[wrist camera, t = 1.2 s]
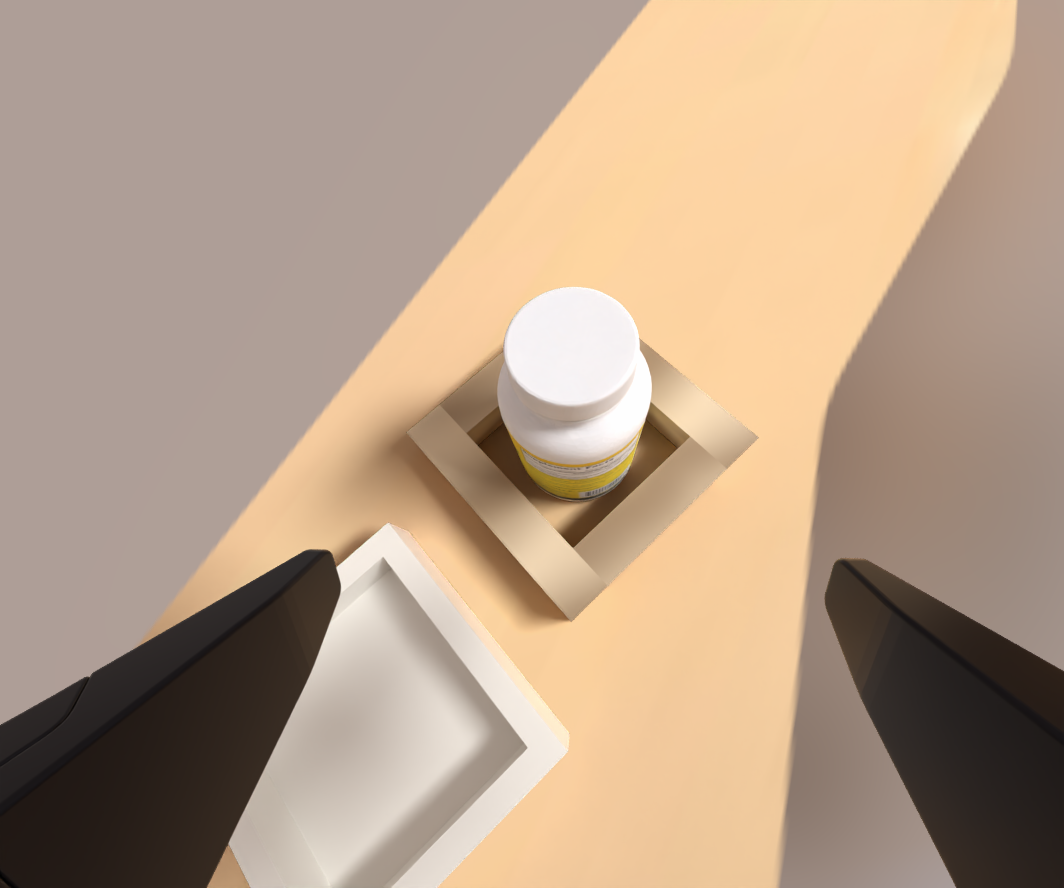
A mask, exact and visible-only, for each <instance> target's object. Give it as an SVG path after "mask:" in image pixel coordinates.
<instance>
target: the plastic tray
mask: <svg viewBox="0 0 1064 888" xmlns="http://www.w3.org/2000/svg"><path fill="white" fill-rule="evenodd" d="M336 568H337V572H338V575H339V579H340V582H341V593H340V597H339V600H338V602H337V605H336V608H335V611H334V613H333V616H332V619H331V621H330V624H329V627H328V630H327V632H326V635H325V638H324V640H323V643H322V646H321V649H320V651H319V654H318V657H317V659H316V662H315V664H314V667H313V669H312V672H311V674H310V676H309V678H308V681H307V683H306V685H305V687H304V689H303V691H302V693H301V695H300V697H299V699H298V701H297V703H296V705H295V708H294V710H293V712H292V714H291V716H290V718H289V720H288V722H287V724H286V726H285V728H284V730H283V732H282V734H281V736H280V738H279V740H278V742H277V744H276V747H275V749H274V751H273V753H272V755H271V757H270V759H269V761H268V763H267V765H266V767H265V769H264V771H263V773H262V775H261V777H260V779H259V781H258V784H257V786H256V788H255V790H254V792H253V794H252V796H251V798H250V800H249V802H248V804H247V806H246V808H245V810H244V812H243V814H242V816H241V818H240V821H239V823H238V825H237V827H236V829H235V831H234V833H233V835H232V837H231V839H230V841H229V843H228V844H229V846H230V848H231V850H232V852H233V854H234V856H235V858H236V860H237V862H238V864H239V866H240V868H241V870H242V872H243V874H244V876H245V878H246V880H247V882H248V884H249V886H250V888H437V887H438V886H439V885H440V884H441V883H442V882H443V881H444V880H445V879H446V878H447V877H448V876H449V875H450V874H451V872H452V871H453V870H454V869H455V868H456V867H457V866H458V865H459V864H460V863H461V862H462V861H463V860H464V859H465V858H466V857H467V856H468V855H469V854H470V853H471V852H472V851H473V850H474V849H475V848H476V846H477V845H478V844H479V843H480V842H481V841H482V840H483V839H484V838H485V837H486V836H487V835H488V834H489V833H490V832H491V831H492V830H493V829H494V828H495V827H496V826H497V825H498V824H499V823H500V822H501V821H502V819H503V818H504V817H505V816H506V815H507V814H508V813H509V812H510V811H511V810H512V809H513V808H514V807H515V806H516V805H517V804H518V803H519V802H520V801H521V800H522V799H523V798H524V797H525V796H526V795H527V793H528V792H529V791H530V790H531V789H532V788H533V787H534V786H535V785H536V784H537V783H538V782H539V781H540V780H541V779H542V778H543V777H544V776H545V775H546V774H547V773H548V772H549V771H550V770H551V769H552V768H553V766H554V765H555V764H556V763H557V762H558V761H559V760H560V759H561V758H562V757H563V756H564V755H565V754H566V753H567V752H568V746H569V732H568V731H567V730H566V729H565V727H564V726H563V725H562V724H561V722H560V721H559V720H558V718H557V717H556V716H555V715H554V713H553V712H552V711H551V710H550V708H549V707H548V706H547V705H546V703H545V702H544V701H543V700H542V698H541V697H540V696H539V695H538V693H537V692H536V691H535V690H534V688H533V687H532V686H531V685H530V683H529V682H528V681H527V680H526V678H525V677H524V676H523V675H522V673H521V672H520V671H519V670H518V668H517V667H516V666H515V665H514V663H513V662H512V661H511V660H510V658H509V657H508V656H507V654H506V653H505V652H504V651H503V649H502V648H501V647H500V646H499V644H498V643H497V642H496V641H495V639H494V638H493V637H492V636H491V634H490V633H489V632H488V631H487V629H486V628H485V627H484V626H483V624H482V623H481V622H480V621H479V619H478V618H477V617H476V616H475V614H474V613H473V612H472V611H471V609H470V608H469V607H468V606H467V604H466V603H465V602H464V601H463V599H462V598H461V597H460V595H459V594H458V593H457V592H456V590H455V589H454V588H453V587H452V585H451V584H450V583H449V582H448V580H447V579H446V578H445V577H444V575H443V574H442V573H441V572H440V570H439V569H438V568H437V567H436V565H435V564H434V563H433V562H432V560H431V559H430V558H429V557H428V555H427V554H426V553H425V552H424V550H423V549H422V548H421V547H420V545H419V544H418V543H417V542H416V540H415V539H414V538H413V537H412V535H411V534H410V533H409V531H406V530H404V529H402V528H400V527H397V526H395V525H393V524H391V523H387V524H386V525H385V526H383V527H382V528H381V529H380V530H379V531H378V532H377V533H375V534H374V535H373V536H372V537H371V538H370V539H369V540H367V541H366V542H365V543H364V544H363V545H362V546H360V547H359V548H358V549H357V550H356V551H355V552H354V553H352V554H351V555H350V556H349V557H348V558H347V559H345V560H344V561H343V562H342V563H341V564H340V565H339V566H337V567H336Z"/></svg>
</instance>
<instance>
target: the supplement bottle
mask: <svg viewBox="0 0 1064 888" xmlns="http://www.w3.org/2000/svg"><path fill="white" fill-rule="evenodd" d="M503 354H504V363H503V366H502V368H501V371H500V375H499V379H498V386H497V397H498V405H499V409H500V412H501V416H502V419H503V421H504V424H505V426H506V428H507V430H508V432H509V435H510V437H511V439H512V441H513V444H514V446H515V448H516V451H517V453H518V455H519V457H520V460H521V462H522V464H523V466H524V468H525V470H526V472H527V473H528V475H529V477H530V478H531V479H532V481H533V482H534V483H535V484H536V485H537V486H538V487H539V488H541V489H542V490H543V491H545V492H546V493H548V494H550V495H552V496H554V497H556V498H559V499H563V500H567V501H578V502H579V501H588V500H592V499H596V498H598V497H601V496H603V495H605V494H607V493H608V492H610V491H611V490H613V489H614V488H615V487H616V486H617V485H618V484H619V483H620V482H621V481H622V480H623V479H624V477H625V476H626V474H627V472H628V470H629V468H630V466H631V463H632V461H633V457H634V454H635V451H636V448H637V444H638V441H639V438H640V435H641V432H642V428H643V425H644V422H645V419H646V416H647V413H648V410H649V406H650V401H651V392H652V382H651V376H650V372H649V368H648V365H647V363H646V360H645V358H644V356H643V354H642V353H641V351H640V342H639V335H638V331H637V328H636V325H635V323H634V321H633V319H632V317H631V316H630V314H629V313H628V312H627V310H626V309H625V308H624V307H623V306H622V305H621V304H620V303H619V302H618V301H616V300H615V299H613V298H612V297H610V296H608V295H606V294H604V293H602V292H599V291H597V290H594V289H589V288H583V287H564V288H559V289H554V290H551V291H548V292H545V293H543V294H541V295H539V296H537V297H535V298H533V299H532V300H530V301H529V302H528V303H527V304H525V305H524V306H523V307H522V308H521V309H520V310H519V311H518V312H517V314H516V315H515V316H514V318H513V319H512V321H511V323H510V324H509V326H508V329H507V332H506V335H505V339H504V346H503Z"/></svg>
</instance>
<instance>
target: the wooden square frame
mask: <svg viewBox="0 0 1064 888" xmlns="http://www.w3.org/2000/svg"><path fill="white" fill-rule="evenodd" d="M639 342H640V351H641V353H642V354H643V356H644V358H645V360H646V363H647V365H648V368H649V372H650V376H651V382H652V392H651V401H650V406H649V410H648V413H647V416H646V420H647V421H648V422H649V423H650V424H651V425H653V426H654V427H655V428H656V429H657V430H658V431H659V432H660V433H661V434H663V435H664V436H665V437H666V438H667V439H668V440H669V441H670V442H672V443H673V444H674V445H675V446H676V447H677V448H678V449H677V450H676V451H675V452H674V453H673V454H672V455H670V456H669V457H668V458H667V459H666V460H665V461H664V462H663V463H662V464H661V465H660V466H659V467H658V468H657V469H656V470H655V471H654V472H653V473H652V474H651V475H649V476H648V477H647V478H646V479H645V480H644V481H643V482H642V483H641V484H640V485H639V486H638V487H637V488H636V489H635V490H634V491H633V492H632V493H631V494H629V495H628V496H627V497H626V498H625V499H624V500H623V501H622V502H621V503H620V504H619V505H618V506H617V507H616V508H615V509H614V510H613V511H612V512H611V513H609V514H608V515H607V516H606V517H605V518H604V519H603V520H602V521H601V522H600V523H599V524H598V525H597V526H596V527H595V528H594V529H593V530H592V531H591V532H589V533H588V534H587V535H586V536H585V537H584V538H583V539H582V540H581V541H580V542H579V543H578V544H577V545H576V546H575V547H574V548H572V547H571V546H570V545H569V544H568V543H567V541H566V540H565V539H564V538H563V537H562V536H561V535H560V534H559V533H558V532H557V531H556V530H555V529H554V527H553V526H552V525H551V524H550V523H549V522H548V521H547V520H546V519H545V518H544V517H543V516H542V515H541V513H540V512H539V511H538V510H537V509H536V508H535V507H534V506H533V505H532V504H531V503H530V502H529V501H528V499H527V498H526V497H525V496H524V495H523V494H522V493H521V492H520V491H519V490H518V489H517V488H516V486H515V485H514V484H513V483H512V482H511V481H510V480H509V479H508V478H507V477H506V476H505V475H504V474H503V472H502V471H501V470H500V469H499V468H498V467H497V466H496V465H495V464H494V463H493V462H492V461H491V460H490V458H489V457H488V456H487V455H486V454H485V453H484V452H483V451H482V450H481V449H480V448H479V447H478V445H479V444H480V443H481V442H482V441H483V440H484V439H486V438H487V437H488V436H489V435H490V434H491V433H493V432H494V431H495V430H496V429H497V428H498V427H499V426H501V425H502V424H503V423H504V421H503V419H502V416H501V412H500V409H499V405H498V397H497V386H498V379H499V375H500V371H501V368H502V366H503V363H504V354H503V352H502V353H500V354H499V355H498V356H497V357H496V358H495V359H493V360H492V361H491V362H490V363H489V364H487V365H486V366H485V367H484V368H483V369H481V370H480V371H479V372H478V373H477V374H475V375H474V376H473V377H472V378H471V379H469V380H468V381H467V382H466V383H465V384H463V385H462V386H461V387H460V388H459V389H457V390H456V391H455V392H454V393H453V394H451V395H450V396H449V397H448V398H447V399H445V400H444V401H443V402H442V403H441V404H440V405H438V406H437V407H436V408H435V409H434V410H432V411H431V412H430V413H429V414H428V415H426V416H425V417H424V418H423V419H422V420H420V421H419V422H418V423H417V424H416V425H414V426H413V427H412V428H411V429H410V430H408V431H407V432H406V433H407V434H408V435H409V436H410V437H411V439H412V440H413V441H414V442H415V443H416V444H417V445H418V447H419V448H420V449H421V450H422V451H423V452H424V454H425V455H426V456H427V457H428V458H429V459H430V460H431V462H432V463H433V464H434V465H435V466H436V467H437V468H438V470H439V471H440V472H441V473H442V474H443V475H444V476H445V478H446V479H447V480H448V481H449V482H450V483H451V485H452V486H453V487H454V488H455V489H456V490H457V491H458V493H459V494H460V495H461V496H462V497H463V498H464V499H465V501H466V502H467V503H468V504H469V505H470V506H471V508H472V509H473V510H474V511H475V512H476V513H477V514H478V516H479V517H480V518H481V519H482V520H483V521H484V522H485V524H486V525H487V526H488V527H489V528H490V529H491V530H492V532H493V533H494V534H495V535H496V536H497V537H498V539H499V540H500V541H501V542H502V543H503V544H504V545H505V547H506V548H507V549H508V550H509V551H510V552H511V553H512V555H513V556H514V557H515V558H516V559H517V560H518V561H519V563H520V564H521V565H522V566H523V567H524V568H525V570H526V571H527V572H528V573H529V574H530V575H531V576H532V578H533V579H534V580H535V581H536V582H537V583H538V584H539V586H540V587H541V588H542V589H543V590H544V591H545V593H546V594H547V595H548V596H549V597H550V598H551V599H552V601H553V602H554V603H555V604H556V605H557V606H558V607H559V609H560V610H561V611H562V612H563V613H564V614H565V615H566V617H567V618H568V619H569V620H570V621H571V622H572V621H573V620H574V619H575V618H576V617H577V616H578V615H579V614H580V613H581V612H582V611H583V610H584V609H585V608H586V607H587V606H588V605H589V604H590V603H591V602H592V601H593V600H594V599H595V598H596V597H597V596H598V595H599V594H600V593H601V592H602V591H603V590H604V589H605V588H606V587H607V586H608V585H609V584H610V583H611V582H612V581H613V580H614V579H615V578H616V577H617V576H619V575H620V574H621V573H622V572H623V571H624V570H625V569H626V568H627V567H628V566H629V565H630V564H631V563H632V562H633V561H634V560H635V559H636V558H637V557H638V556H639V555H640V554H641V553H642V552H643V551H644V550H645V549H646V548H647V547H648V546H649V545H650V544H651V543H652V542H653V541H654V540H655V539H656V538H657V537H658V536H659V535H660V534H661V533H662V532H663V531H664V530H665V529H666V528H667V527H668V526H669V525H670V524H671V523H672V522H673V521H674V520H675V519H677V518H678V517H679V516H680V515H681V514H682V513H683V512H684V511H685V510H686V509H687V508H688V507H689V506H690V505H691V504H692V503H693V502H694V501H695V500H696V499H697V498H698V497H699V496H700V495H701V494H702V493H703V492H704V491H705V490H706V489H707V488H708V487H709V486H710V485H711V484H712V483H713V482H714V481H715V480H716V479H717V478H718V477H719V476H720V475H721V474H722V473H723V472H724V471H725V470H726V469H727V468H728V467H729V466H730V465H731V464H732V463H733V462H734V461H736V460H737V459H738V458H739V457H740V456H741V455H742V454H743V453H744V452H745V451H746V450H747V449H748V448H749V447H750V446H751V445H752V444H753V443H754V442H755V441H756V440H757V439H758V438H759V437H758V436H756V435H755V434H754V433H753V432H752V431H750V430H749V429H748V428H747V427H745V426H744V425H743V424H742V423H741V422H739V421H738V420H737V419H736V418H735V417H733V416H732V415H731V414H730V413H729V412H727V411H726V410H725V409H724V408H723V407H721V406H720V405H719V404H718V403H717V402H715V401H714V400H713V399H712V398H711V397H709V396H708V395H707V394H706V393H705V392H703V391H702V390H701V389H700V388H699V387H697V386H696V385H695V384H694V383H692V382H691V381H690V380H689V379H688V378H686V377H685V376H684V375H683V374H682V373H680V372H679V371H678V370H677V369H676V368H674V367H673V366H672V365H671V364H670V363H668V362H667V361H666V360H665V359H664V358H662V357H661V356H660V355H659V354H658V353H656V352H655V351H654V350H653V349H652V348H650V347H649V346H648V345H647V344H646V343H644V342H643V341H642V340H641V339H640V338H639Z"/></svg>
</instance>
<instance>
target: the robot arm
mask: <svg viewBox="0 0 1064 888" xmlns="http://www.w3.org/2000/svg"><path fill="white" fill-rule="evenodd" d="M340 593H341V582H340V579H339V575H338V572H337V568H336V565H335V561H334V558H333V555H332V553H331V552H330V551H328V550H320V549H310V550H306V551H304V552H302V553H300V554H298V555H297V556H295V557H293V558H291V559H290V560H288V561H286V562H285V563H283V564H281V565H279V566H278V567H276V568H274V569H272V570H271V571H269V572H267V573H265V574H264V575H262V576H260V577H258V578H257V579H255V580H253V581H251V582H250V583H248V584H246V585H245V586H243V587H241V588H239V589H238V590H236V591H234V592H232V593H231V594H229V595H227V596H225V597H224V598H222V599H220V600H218V601H217V602H215V603H213V604H212V605H210V606H208V607H206V608H205V609H203V610H201V611H199V612H198V613H196V614H194V615H192V616H191V617H189V618H187V619H185V620H184V621H182V622H180V623H178V624H177V625H175V626H173V627H172V628H170V629H168V630H166V631H165V632H163V633H161V634H159V635H158V636H156V637H154V638H152V639H151V640H149V641H147V642H145V643H144V644H142V645H140V646H139V647H137V648H135V649H133V650H132V651H130V652H128V653H126V654H125V655H123V656H121V657H119V658H118V659H116V660H114V661H112V662H111V663H109V664H107V665H106V666H104V667H102V668H100V669H99V670H97V671H95V672H93V673H92V674H91V676H90V677H84V678H83V679H81V680H79V681H78V682H76V683H74V684H72V685H71V686H69V687H67V688H65V689H64V690H62V691H60V692H58V693H57V694H55V695H53V696H51V697H50V698H48V699H46V700H44V701H43V702H41V703H39V704H37V705H35V706H34V707H32V708H30V709H28V710H26V711H25V712H23V713H21V714H19V715H18V716H16V717H14V718H12V719H10V720H9V721H7V722H5V723H3V724H1V725H0V888H207V886H208V884H209V882H210V880H211V878H212V876H213V874H214V872H215V870H216V868H217V866H218V864H219V862H220V860H221V857H222V855H223V853H224V851H225V849H226V847H227V845H228V843H229V841H230V839H231V837H232V835H233V833H234V831H235V829H236V827H237V825H238V823H239V821H240V818H241V816H242V814H243V812H244V810H245V808H246V806H247V804H248V802H249V800H250V798H251V796H252V794H253V792H254V790H255V788H256V786H257V784H258V781H259V779H260V777H261V775H262V773H263V771H264V769H265V767H266V765H267V763H268V761H269V759H270V757H271V755H272V753H273V751H274V749H275V747H276V744H277V742H278V740H279V738H280V736H281V734H282V732H283V730H284V728H285V726H286V724H287V722H288V720H289V718H290V716H291V714H292V712H293V710H294V708H295V705H296V703H297V701H298V699H299V697H300V695H301V693H302V691H303V689H304V687H305V685H306V683H307V681H308V678H309V676H310V674H311V672H312V669H313V667H314V664H315V662H316V659H317V657H318V654H319V651H320V649H321V646H322V643H323V640H324V638H325V635H326V632H327V630H328V627H329V624H330V621H331V619H332V616H333V613H334V611H335V608H336V605H337V602H338V600H339V597H340ZM825 606H826V609H827V612H828V615H829V618H830V620H831V623H832V625H833V628H834V631H835V633H836V636H837V639H838V641H839V644H840V646H841V649H842V652H843V654H844V657H845V660H846V662H847V664H848V667H849V670H850V672H851V675H852V678H853V680H854V683H855V685H856V688H857V690H858V692H859V695H860V697H861V699H862V701H863V704H864V705H865V708H866V710H867V712H868V714H869V716H870V718H871V719H872V722H873V724H874V726H875V728H876V730H877V732H878V734H879V736H880V738H881V739H882V741H883V743H884V746H885V748H886V749H887V751H888V753H889V755H890V757H891V759H892V761H893V763H894V765H895V767H896V769H897V771H898V773H899V775H900V777H901V779H902V781H903V783H904V785H905V787H906V789H907V791H908V793H909V795H910V797H911V799H912V801H913V803H914V805H915V807H916V809H917V811H918V813H919V814H920V817H921V819H922V821H923V823H924V825H925V827H926V828H927V831H928V833H929V834H930V836H931V838H932V840H933V842H934V844H935V846H936V848H937V850H938V852H939V854H940V856H941V858H942V860H943V862H944V864H945V866H946V868H947V870H948V872H949V874H950V876H951V878H952V880H953V882H954V884H955V886H956V888H1064V671H1063V670H1061V669H1059V668H1057V667H1056V666H1054V665H1052V664H1050V663H1048V662H1047V661H1045V660H1043V659H1041V658H1040V657H1038V656H1036V655H1034V654H1033V653H1031V652H1029V651H1027V650H1026V649H1024V648H1022V647H1020V646H1019V645H1017V644H1015V643H1013V642H1011V641H1010V640H1008V639H1006V638H1004V637H1003V636H1001V635H999V634H997V633H996V632H994V631H992V630H990V629H988V628H987V627H985V626H983V625H981V624H980V623H978V622H976V621H974V620H973V619H970V618H969V617H967V616H965V615H964V614H962V613H960V612H958V611H957V610H955V609H953V608H951V607H950V606H948V605H946V604H944V603H942V602H941V601H939V600H937V599H935V598H934V597H932V596H930V595H928V594H927V593H925V592H923V591H921V590H919V589H918V588H916V587H914V586H912V585H911V584H909V583H907V582H905V581H903V580H902V579H900V578H898V577H896V576H895V575H893V574H891V573H889V572H888V571H886V570H884V569H882V568H880V567H879V566H877V565H875V564H873V563H871V562H869V561H868V560H866V559H861V558H860V559H859V558H841V559H838V560H837V561H836V562H835V563H834V565H833V568H832V572H831V576H830V579H829V582H828V586H827V589H826V592H825Z"/></svg>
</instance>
